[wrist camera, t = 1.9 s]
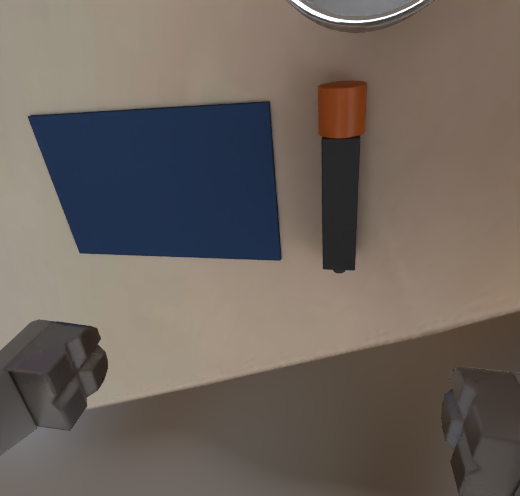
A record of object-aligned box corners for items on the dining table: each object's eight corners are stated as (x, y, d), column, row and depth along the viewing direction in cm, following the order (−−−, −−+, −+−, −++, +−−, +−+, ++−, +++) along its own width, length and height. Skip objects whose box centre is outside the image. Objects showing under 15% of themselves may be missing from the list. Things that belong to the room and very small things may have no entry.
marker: (319, 82, 26) (316, 89, 23) (366, 79, 25) (367, 86, 22) (321, 259, 33) (319, 279, 30) (358, 260, 32) (358, 281, 29)
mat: (269, 101, 27) (268, 102, 27) (281, 258, 33) (280, 260, 33) (30, 115, 31) (27, 116, 31) (82, 251, 38) (79, 253, 38)
